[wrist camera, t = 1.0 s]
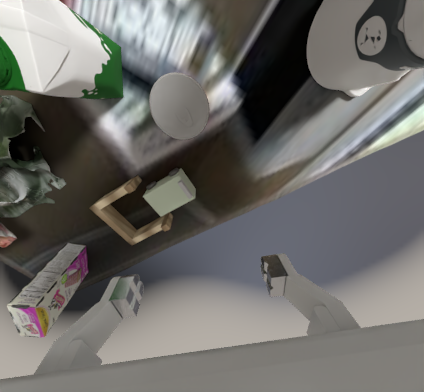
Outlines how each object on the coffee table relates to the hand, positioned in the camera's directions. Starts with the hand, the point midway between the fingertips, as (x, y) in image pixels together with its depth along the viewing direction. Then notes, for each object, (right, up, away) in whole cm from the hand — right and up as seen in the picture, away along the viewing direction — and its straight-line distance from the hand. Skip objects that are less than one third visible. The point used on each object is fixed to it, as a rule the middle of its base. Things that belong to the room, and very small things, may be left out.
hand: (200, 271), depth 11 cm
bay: (-18, +2, +30) cm, 35 cm away
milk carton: (-18, +26, +17) cm, 36 cm away
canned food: (-4, +21, +21) cm, 30 cm away
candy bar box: (-37, -12, +37) cm, 53 cm away
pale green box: (-8, +7, +28) cm, 30 cm away
